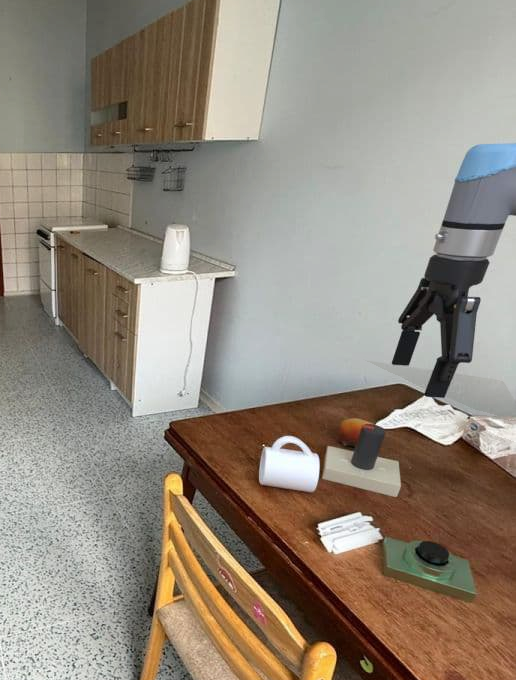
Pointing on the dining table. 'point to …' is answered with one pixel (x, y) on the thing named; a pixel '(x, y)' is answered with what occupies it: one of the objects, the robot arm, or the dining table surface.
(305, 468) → the mug
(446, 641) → the dining table surface
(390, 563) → the button box
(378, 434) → the dark grey cylinder
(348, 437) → the fruit
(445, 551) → the button
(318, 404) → the dining table surface
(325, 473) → the panel
